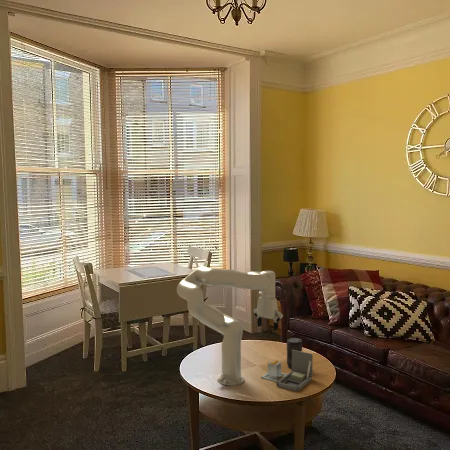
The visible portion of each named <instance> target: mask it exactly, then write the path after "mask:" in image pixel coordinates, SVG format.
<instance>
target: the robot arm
mask: <svg viewBox="0 0 450 450" xmlns="http://www.w3.org/2000/svg"><path fill="white" fill-rule="evenodd" d="M202 285H204V286H208V287H220V288H221V287H222V288H234V289H244V290H253V291H254V290H255V291H256V290H257V291H259V290H260V291H259V292H258V294H259V297H258V300H257V307H256V308H254V309H253V310H252V312H253V314H254V317H255V318H256V320H257V322H256V323H257V327H258V328H259V327H261V326H263V318H264V319H271V320H273V330H274V331H276V330H279V322H280V321H281V320H282V318H283V317H284V315H283V313H282V312H280V311H279V310H278V309H279V308H278V299H277V298H276V272H275V271H273V270H263V271H262V270H261V271H255V270H254V271H249V272H243V271H239V270H234V269H226V268H216V267H215V268H212V267H209V266H206V265H201V266H198V267H197V268H195V269H194V270H193V271H192V272H190V273H189V274H188V275H187V276H185V278H183V279H181V281H180V282H179V283H178V284H177V287H176V294H177V295H178V296H179V298H182V299H183V300H185V301H186V302H187V310H188V312H189V314H190V315H191V316H192V318H194V319H196V320H198V321H199V322H200V323H201V324H203V325H205V326H207V327H208V328H210V329H212V330H213V331H216V332H218V333H220V334H221V335H222V336H223V339H222V342H221V375H220V376H219V377H218V379H217V381H216V382H217V383H218V384H221V385H224V386H229V387H230V386H231V387H234V386H238V385H242V384H243V383H244V382H245V377H244V376H243V375H242V339H243V338H242V337H243V331H244V329H243V324H242V323H241V322H240V321H239V320H238V319H237V318H235V317H233V316H230V315H228V314H226V313H224V312H222V311H221V310H220V309H218V308H217V307H214V306H212V305H210V304H208V303H207V302H205V301H204V292H203V289H202V288H201V286H202Z"/></svg>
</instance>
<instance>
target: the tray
mask: <svg viewBox="0 0 450 450" xmlns="http://www.w3.org/2000/svg"><path fill="white" fill-rule="evenodd" d="M287 374H288V373H284V372H281V377H280V378H278V379H277V380H276V379H272V378H268V371H267V372H266V373H265V374H263V375H262V376H261V377H260V379H263V380H266V381H271V382H275V383H277V382H278V381H279V380H281V379H282V378H283V377H285V376H286V375H287Z"/></svg>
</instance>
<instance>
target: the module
mask: <svg viewBox="0 0 450 450" xmlns="http://www.w3.org/2000/svg"><path fill="white" fill-rule="evenodd" d="M267 372H268V375H267V378H271V379H275V380H279V379H281V378H282V375H281V373H282V361H279V360H278V359H273V360H272V359H271V361H269V362H267Z"/></svg>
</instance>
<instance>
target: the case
mask: <svg viewBox="0 0 450 450" xmlns="http://www.w3.org/2000/svg"><path fill="white" fill-rule="evenodd" d="M313 355H314V354H313V353H311V352H305V351H302V352H301V351H296V350H292V369H291V371H290V372H288V373H286V374H287V375H286V376H285V377H283V376H282V377H283V378H282V377H281V378H282V379H281V378H280V379H281V380H279V379H278V380H279V381H278V382H276V387H278V388H281V389H285V390H289V391H292V392H296V393H298V392H299V391H301V390H302V389H303V388H304V387H305V386H306V385H307V384H309V383H310V382H311V381H312V380H313V378H312V377H313V370H314V369H313Z"/></svg>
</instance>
